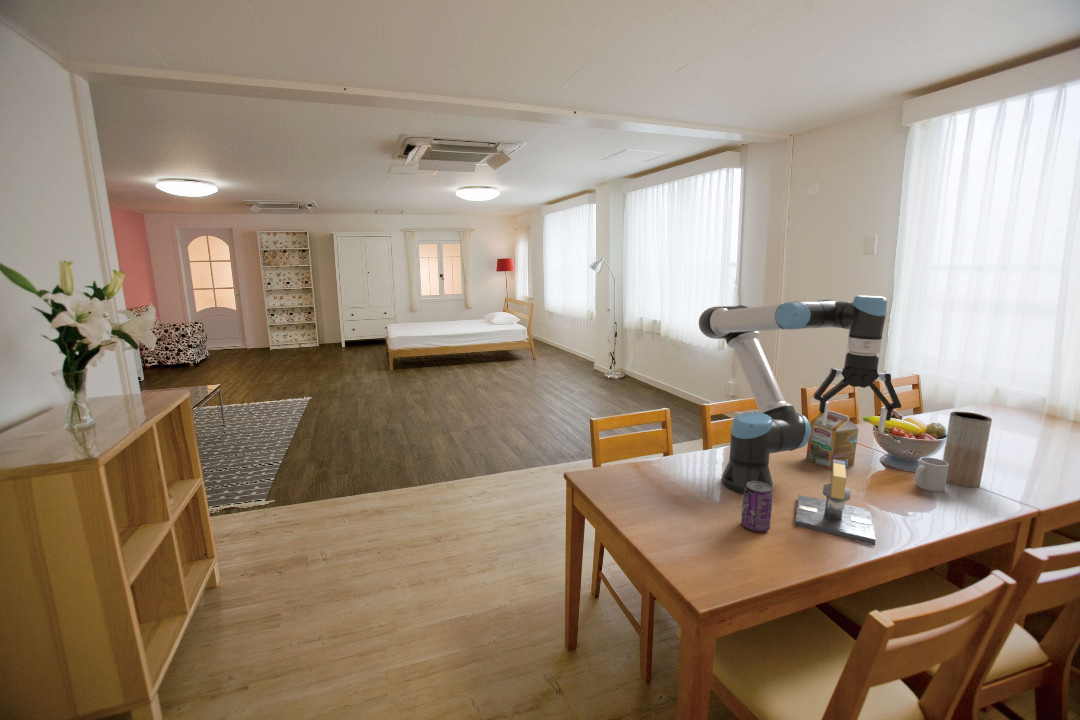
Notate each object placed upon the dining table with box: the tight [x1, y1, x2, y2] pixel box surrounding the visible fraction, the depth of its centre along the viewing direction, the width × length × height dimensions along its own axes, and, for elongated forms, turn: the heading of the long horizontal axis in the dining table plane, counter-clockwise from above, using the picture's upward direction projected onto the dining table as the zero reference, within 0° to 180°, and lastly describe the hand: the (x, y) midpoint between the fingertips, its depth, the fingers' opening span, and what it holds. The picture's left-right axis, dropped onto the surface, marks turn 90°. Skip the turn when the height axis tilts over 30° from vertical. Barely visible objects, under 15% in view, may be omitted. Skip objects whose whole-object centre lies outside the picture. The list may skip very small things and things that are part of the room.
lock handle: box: [822, 459, 852, 502], centre depth 130 cm, size 6×13×8 cm, turn 149°
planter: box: [942, 410, 993, 488], centre depth 154 cm, size 10×10×23 cm
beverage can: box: [740, 481, 774, 533], centre depth 127 cm, size 7×7×12 cm
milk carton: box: [805, 409, 859, 471], centre depth 171 cm, size 11×11×19 cm
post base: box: [794, 494, 877, 546], centre depth 131 cm, size 18×18×7 cm
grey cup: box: [914, 456, 949, 493], centre depth 151 cm, size 7×10×9 cm
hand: (851, 427), depth 132 cm, fingers open, 13 cm apart
